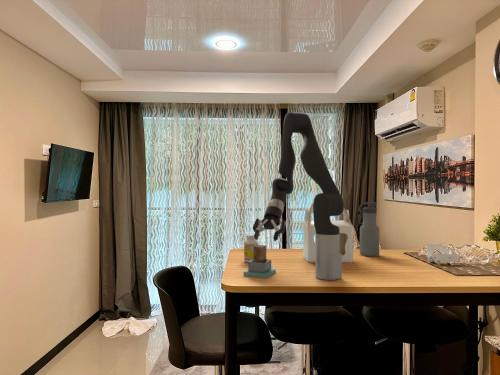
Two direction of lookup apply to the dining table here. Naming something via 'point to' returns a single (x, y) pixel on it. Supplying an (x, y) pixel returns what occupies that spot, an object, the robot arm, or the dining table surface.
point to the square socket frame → (259, 266)
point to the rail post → (260, 253)
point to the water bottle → (369, 230)
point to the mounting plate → (261, 275)
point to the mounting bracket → (441, 257)
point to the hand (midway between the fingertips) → (265, 239)
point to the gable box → (344, 237)
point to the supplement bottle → (249, 247)
